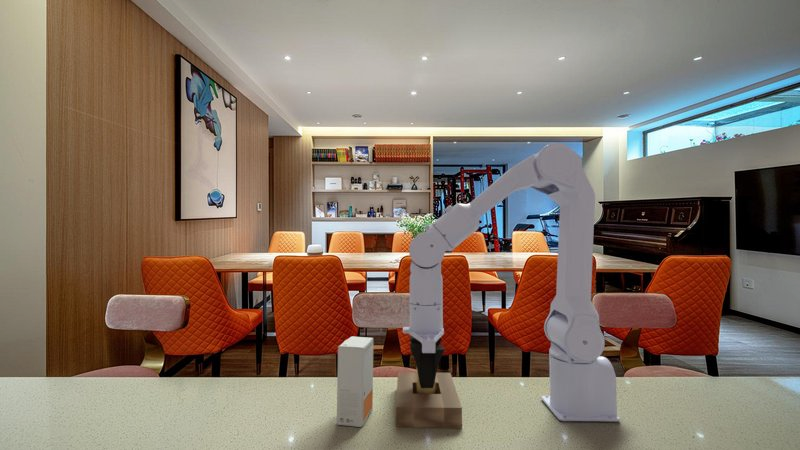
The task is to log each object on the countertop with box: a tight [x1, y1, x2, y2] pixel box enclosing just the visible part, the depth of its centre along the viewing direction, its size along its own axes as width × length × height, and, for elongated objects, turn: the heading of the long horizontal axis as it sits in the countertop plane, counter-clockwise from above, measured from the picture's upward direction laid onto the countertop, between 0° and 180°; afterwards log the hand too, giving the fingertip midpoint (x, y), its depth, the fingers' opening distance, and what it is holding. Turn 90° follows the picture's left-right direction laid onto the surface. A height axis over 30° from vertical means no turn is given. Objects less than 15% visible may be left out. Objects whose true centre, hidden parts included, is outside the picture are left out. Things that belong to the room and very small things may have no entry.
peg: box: [416, 370, 435, 394], centre depth 61 cm, size 3×3×7 cm
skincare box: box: [336, 335, 374, 428], centre depth 57 cm, size 6×4×12 cm
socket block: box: [395, 371, 463, 429], centre depth 60 cm, size 10×14×3 cm
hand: (426, 382), depth 61 cm, fingers closed on peg, 3 cm apart
